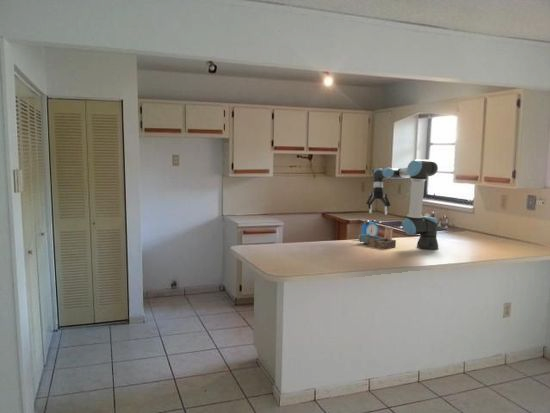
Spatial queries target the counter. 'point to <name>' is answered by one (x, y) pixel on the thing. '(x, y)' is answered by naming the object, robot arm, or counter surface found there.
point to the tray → (367, 236)
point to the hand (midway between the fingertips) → (378, 213)
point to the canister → (388, 232)
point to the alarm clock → (370, 228)
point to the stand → (382, 243)
